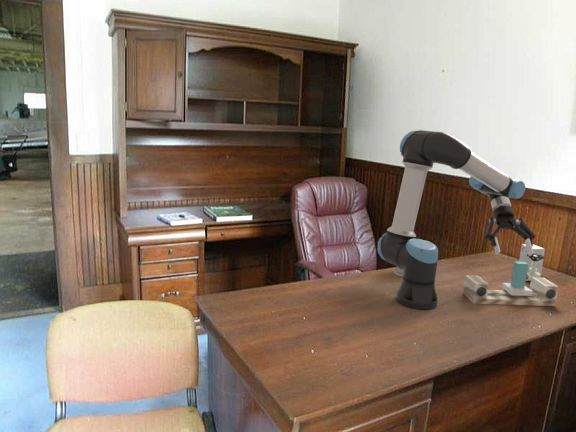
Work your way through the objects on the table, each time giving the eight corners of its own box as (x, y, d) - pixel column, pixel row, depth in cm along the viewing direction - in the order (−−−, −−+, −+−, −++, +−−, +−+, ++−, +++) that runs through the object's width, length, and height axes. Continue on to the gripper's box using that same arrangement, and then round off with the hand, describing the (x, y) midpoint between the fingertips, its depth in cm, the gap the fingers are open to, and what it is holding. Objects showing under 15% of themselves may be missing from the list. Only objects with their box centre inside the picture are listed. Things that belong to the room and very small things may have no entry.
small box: (541, 275, 211) (545, 248, 208) (529, 276, 209) (534, 249, 206) (528, 269, 218) (532, 243, 216) (517, 270, 217) (521, 244, 214)
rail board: (473, 303, 174) (476, 284, 173) (462, 293, 185) (465, 274, 183) (555, 306, 175) (559, 287, 173) (540, 296, 185) (543, 277, 184)
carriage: (511, 297, 176) (516, 265, 173) (501, 289, 183) (506, 259, 181) (531, 298, 176) (536, 266, 173) (520, 290, 184) (525, 259, 181)
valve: (519, 278, 205) (523, 253, 202) (531, 277, 207) (535, 252, 204) (531, 284, 199) (535, 257, 196) (543, 283, 201) (547, 257, 198)
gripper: (526, 215, 198) (540, 258, 187) (470, 213, 198) (480, 256, 186) (535, 205, 192) (549, 250, 181) (477, 203, 191) (488, 248, 180)
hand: (514, 253), depth 184 cm, fingers open, 13 cm apart
